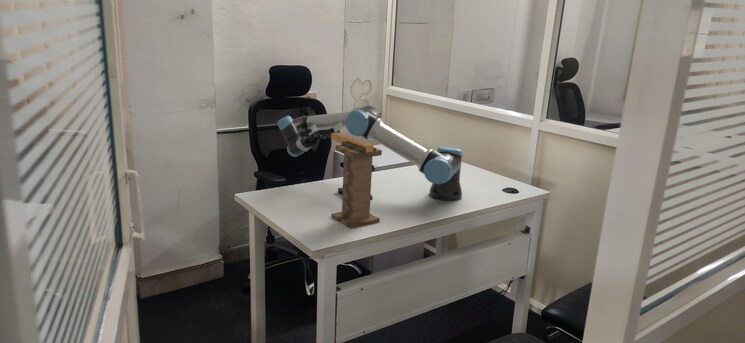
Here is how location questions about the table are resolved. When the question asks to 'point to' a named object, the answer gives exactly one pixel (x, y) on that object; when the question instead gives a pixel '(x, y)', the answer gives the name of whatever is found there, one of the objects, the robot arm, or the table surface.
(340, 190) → the disk drive
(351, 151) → the stand
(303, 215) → the table surface
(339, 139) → the wood grain block
